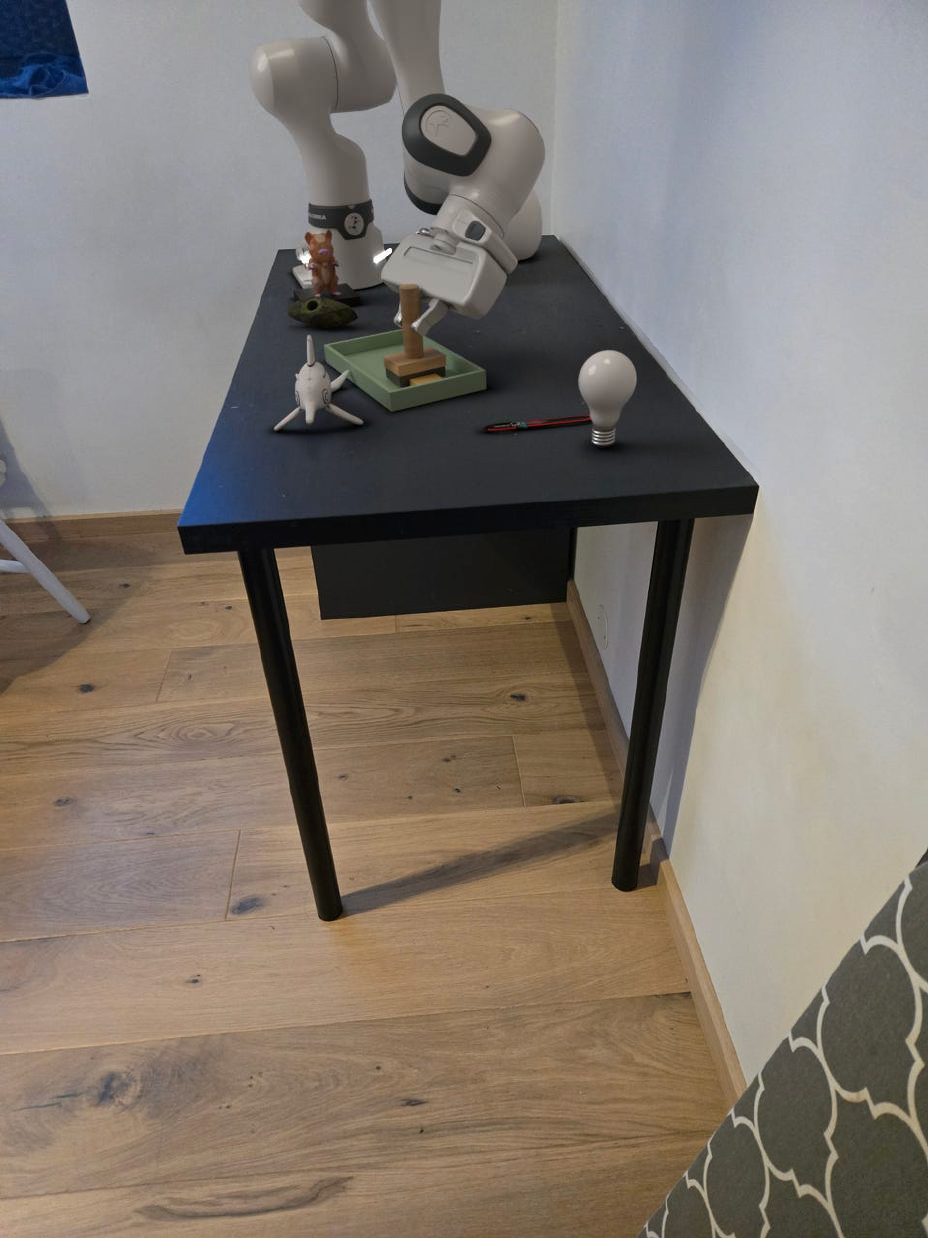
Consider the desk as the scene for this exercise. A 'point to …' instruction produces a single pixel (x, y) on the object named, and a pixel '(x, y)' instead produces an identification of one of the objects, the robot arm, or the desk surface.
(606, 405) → the lightbulb
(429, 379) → the orange block
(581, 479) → the desk surface
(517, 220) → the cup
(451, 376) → the tray
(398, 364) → the wooden peg on base
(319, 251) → the figurine
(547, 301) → the desk surface
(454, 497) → the desk surface
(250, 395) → the desk surface
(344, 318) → the decorative stone
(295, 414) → the dolphin figurine
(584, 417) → the pen
